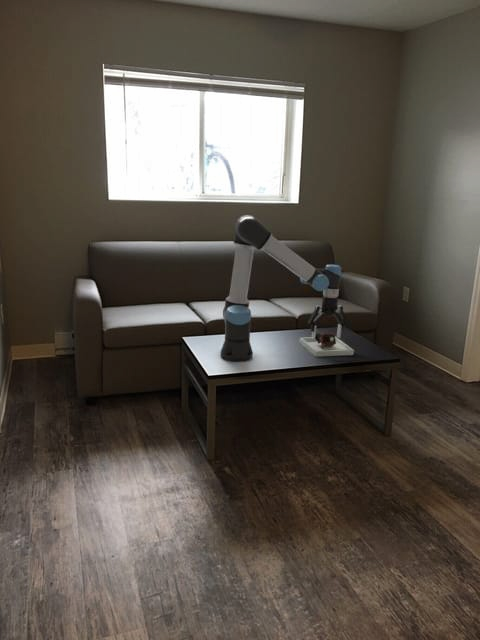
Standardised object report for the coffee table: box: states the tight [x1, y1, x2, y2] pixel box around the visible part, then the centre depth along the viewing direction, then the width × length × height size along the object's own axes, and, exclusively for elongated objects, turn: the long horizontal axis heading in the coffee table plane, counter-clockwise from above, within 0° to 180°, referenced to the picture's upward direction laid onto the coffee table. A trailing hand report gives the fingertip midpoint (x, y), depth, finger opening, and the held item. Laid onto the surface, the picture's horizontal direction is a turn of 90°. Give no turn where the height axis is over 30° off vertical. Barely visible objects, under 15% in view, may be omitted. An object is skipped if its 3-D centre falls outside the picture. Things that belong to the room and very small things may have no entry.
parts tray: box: [298, 336, 355, 357], centre depth 259 cm, size 20×22×2 cm
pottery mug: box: [315, 332, 336, 349], centre depth 259 cm, size 12×10×8 cm
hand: (325, 337), depth 258 cm, fingers open, 13 cm apart
